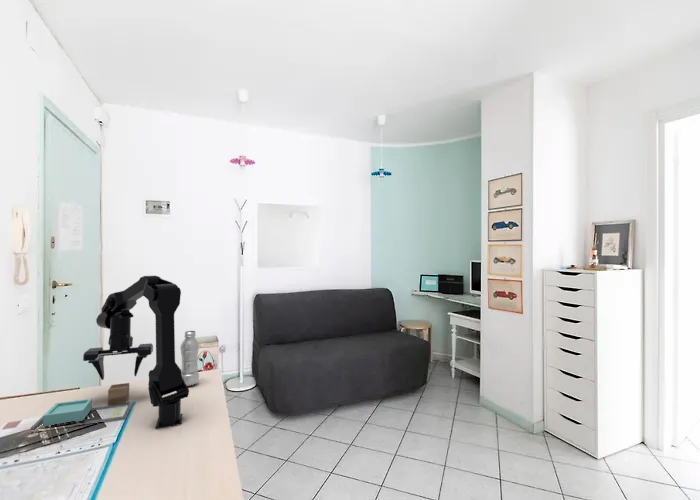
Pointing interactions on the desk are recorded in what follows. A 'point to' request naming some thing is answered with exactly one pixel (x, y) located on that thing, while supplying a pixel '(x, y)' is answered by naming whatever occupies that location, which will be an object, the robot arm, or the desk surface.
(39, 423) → the gray metal rectangular frame
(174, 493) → the desk surface
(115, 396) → the walnut block
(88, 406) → the teal square tray
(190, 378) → the plastic bottle
